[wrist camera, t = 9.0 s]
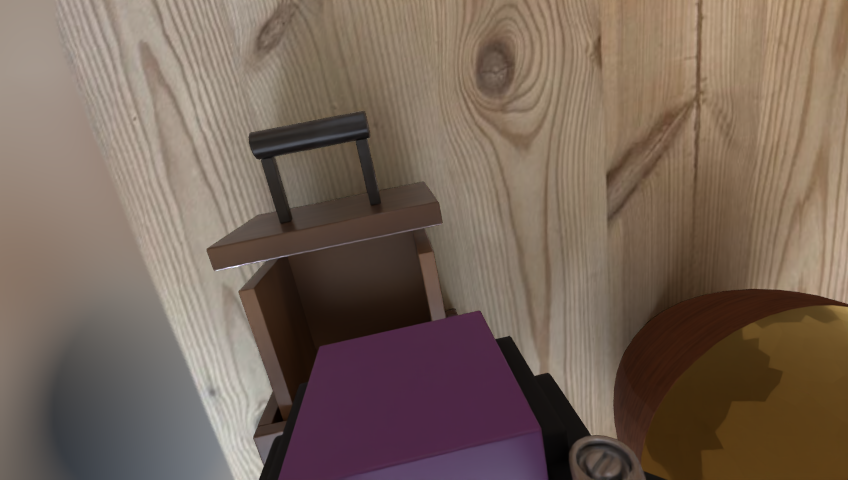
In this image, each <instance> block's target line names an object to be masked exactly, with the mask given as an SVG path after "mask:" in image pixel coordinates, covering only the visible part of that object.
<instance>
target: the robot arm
mask: <svg viewBox="0 0 848 480" xmlns="http://www.w3.org/2000/svg"><path fill="white" fill-rule="evenodd" d="M495 340H496V342H497V344H498V346H499V348H500V350H501V352H502V354H503V356H504V358H505V359H506V361H507V363H508V365H509V367H510V369H511V371H512V373H513V375H514V377H515V379H516V381H517V383H518V385H519V387H520V388H521V390H522V392H523V394H524V396H525V398H526V400H527V402H528V404H529V406H530V408H531V410H532V412H533V414H534V416H535V417H536V419H537V421H538V423H539V425H540V427H541V430H542V437H543V444H544V451H545V458H546V465H547V473H548V480H667V479H664V478H661V477H659V476H656V475H653V474H651V473H648V472H645V471H643V470H642V467H641V465H640V462H639V460H638V458H637V457H636V455H635V453H634V452H633V451H632V450H631V449H630V448H629V447H628V446H627V445H626V444H624V443H622V442H620V441H619V440H617V439H614V438H611V437H608V436H601V435H592V436H591V434H590V433H589V431H588V430H587V428H586V427H585V425H584V424H583V422H582V421H581V419H580V418H579V416H578V415H577V413H576V412H575V410H574V409H573V407H572V406H571V404H570V403H569V401H568V400H567V398H566V397H565V395H564V394H563V392H562V391H561V389H560V388H559V386H558V385H557V383H556V382H555V380H554V379H553V377H552V376H551V375H550V374H549V373H545V374H541V375H537V376H534V375H533V373H532V371H531V370H530V368H529V366H528V365H527V363H526V361H525V360H524V358H523V356H522V355H521V353H520V351H519V350H518V348H517V346H516V345H515V343H514V341H513V340H512V338H511V337H510V336H507V337H503V338H498V339H495ZM307 385H308V382H306V383H302V384H300V385H299V387H298V390H297V393H296V396H295V399H294V402H293V404H292V407H291V410H290V413H289V416H288V419H287V422H286V425H285V428H284V431H283V434H282V435H279V436H277V437H275V439H274V441H273V443H272V445H271V448H270V451H269V454H268V456H267V459H266V462H265V465H264V467H263V470H262V473H261V476H260V478H259V480H278V478H279V475H280V472H281V469H282V465H283V462H284V459H285V456H286V452H287V449H288V446H289V443H290V440H291V436H292V433H293V430H294V427H295V424H296V420H297V417H298V414H299V411H300V408H301V404H302V401H303V398H304V395H305V392H306V388H307Z"/></svg>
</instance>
